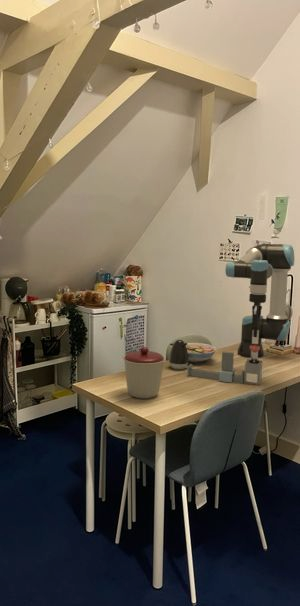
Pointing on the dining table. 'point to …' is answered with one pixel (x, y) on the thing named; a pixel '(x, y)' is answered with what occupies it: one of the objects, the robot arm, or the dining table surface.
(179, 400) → the dining table surface
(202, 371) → the rail
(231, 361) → the carriage
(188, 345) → the ramen bowl
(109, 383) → the dining table surface
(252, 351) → the plunger
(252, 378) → the grey square housing
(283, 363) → the dining table surface
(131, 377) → the canister
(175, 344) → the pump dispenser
